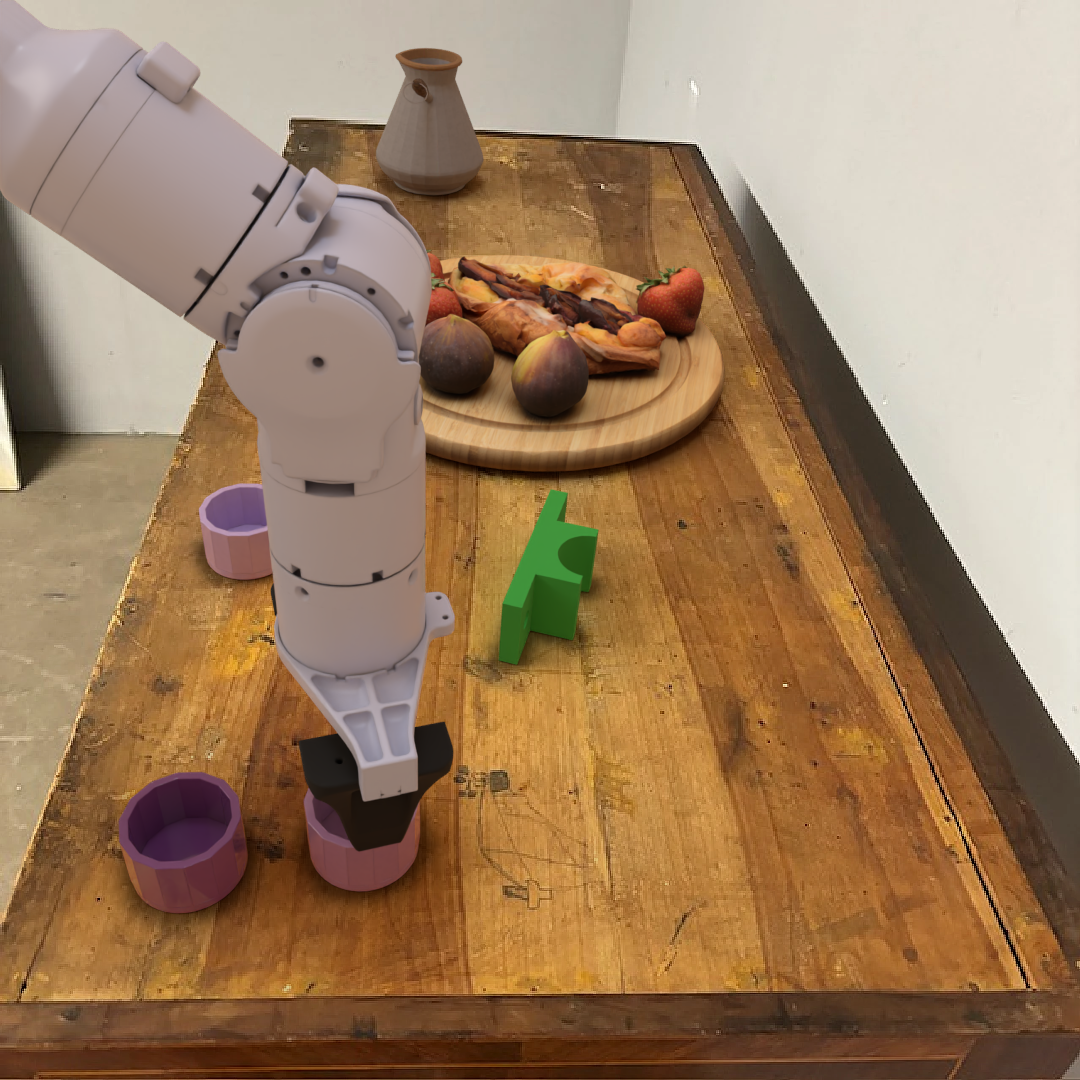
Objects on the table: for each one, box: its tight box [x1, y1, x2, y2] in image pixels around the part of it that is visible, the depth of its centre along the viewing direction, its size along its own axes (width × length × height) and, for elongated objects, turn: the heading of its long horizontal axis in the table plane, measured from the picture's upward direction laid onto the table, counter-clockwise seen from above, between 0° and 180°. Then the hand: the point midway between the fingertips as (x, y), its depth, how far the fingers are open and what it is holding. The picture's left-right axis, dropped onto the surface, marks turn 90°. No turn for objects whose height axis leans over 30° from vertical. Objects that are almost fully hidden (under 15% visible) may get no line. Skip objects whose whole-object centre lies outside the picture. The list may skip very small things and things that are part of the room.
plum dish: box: [118, 771, 249, 914], centre depth 49 cm, size 5×5×4 cm
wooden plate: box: [419, 249, 726, 472], centre depth 86 cm, size 32×32×8 cm
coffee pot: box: [375, 47, 485, 196], centre depth 108 cm, size 21×12×15 cm, turn 179°
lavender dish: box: [198, 483, 273, 581], centre depth 67 cm, size 5×5×4 cm
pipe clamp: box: [498, 488, 600, 666], centre depth 65 cm, size 11×4×5 cm, turn 166°
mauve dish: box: [303, 787, 421, 892], centre depth 51 cm, size 5×5×4 cm
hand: (361, 770), depth 48 cm, fingers open, 7 cm apart
